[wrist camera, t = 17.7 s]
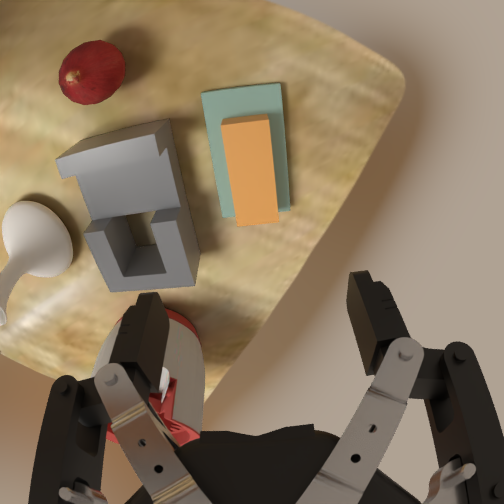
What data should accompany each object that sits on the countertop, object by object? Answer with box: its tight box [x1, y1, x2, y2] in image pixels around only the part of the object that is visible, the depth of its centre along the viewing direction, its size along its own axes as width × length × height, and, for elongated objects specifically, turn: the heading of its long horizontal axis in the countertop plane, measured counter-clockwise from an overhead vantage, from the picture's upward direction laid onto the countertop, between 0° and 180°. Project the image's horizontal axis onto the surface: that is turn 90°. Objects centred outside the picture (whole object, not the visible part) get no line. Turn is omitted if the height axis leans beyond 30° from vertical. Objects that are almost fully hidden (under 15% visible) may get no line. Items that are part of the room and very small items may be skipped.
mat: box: [201, 83, 290, 218], centre depth 29 cm, size 13×7×1 cm, turn 7°
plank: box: [221, 114, 279, 227], centre depth 29 cm, size 10×4×2 cm, turn 7°
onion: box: [59, 40, 125, 105], centre depth 21 cm, size 6×6×8 cm
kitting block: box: [55, 119, 201, 292], centre depth 30 cm, size 16×10×6 cm, turn 7°
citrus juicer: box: [91, 308, 205, 446], centre depth 37 cm, size 16×17×20 cm
